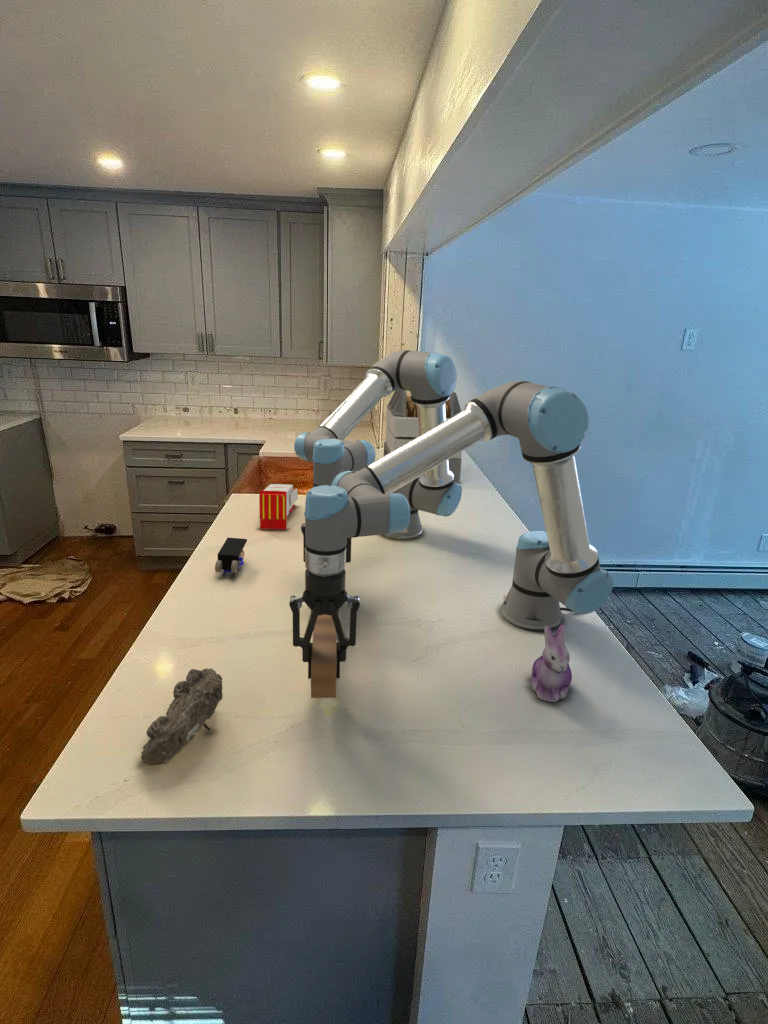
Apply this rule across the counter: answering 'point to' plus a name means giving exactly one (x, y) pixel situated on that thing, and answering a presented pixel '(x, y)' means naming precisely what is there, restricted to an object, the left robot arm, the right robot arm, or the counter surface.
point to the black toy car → (230, 556)
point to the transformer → (414, 425)
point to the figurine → (552, 668)
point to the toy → (276, 505)
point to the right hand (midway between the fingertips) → (324, 674)
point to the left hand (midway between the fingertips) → (326, 585)
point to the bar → (324, 658)
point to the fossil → (183, 716)
